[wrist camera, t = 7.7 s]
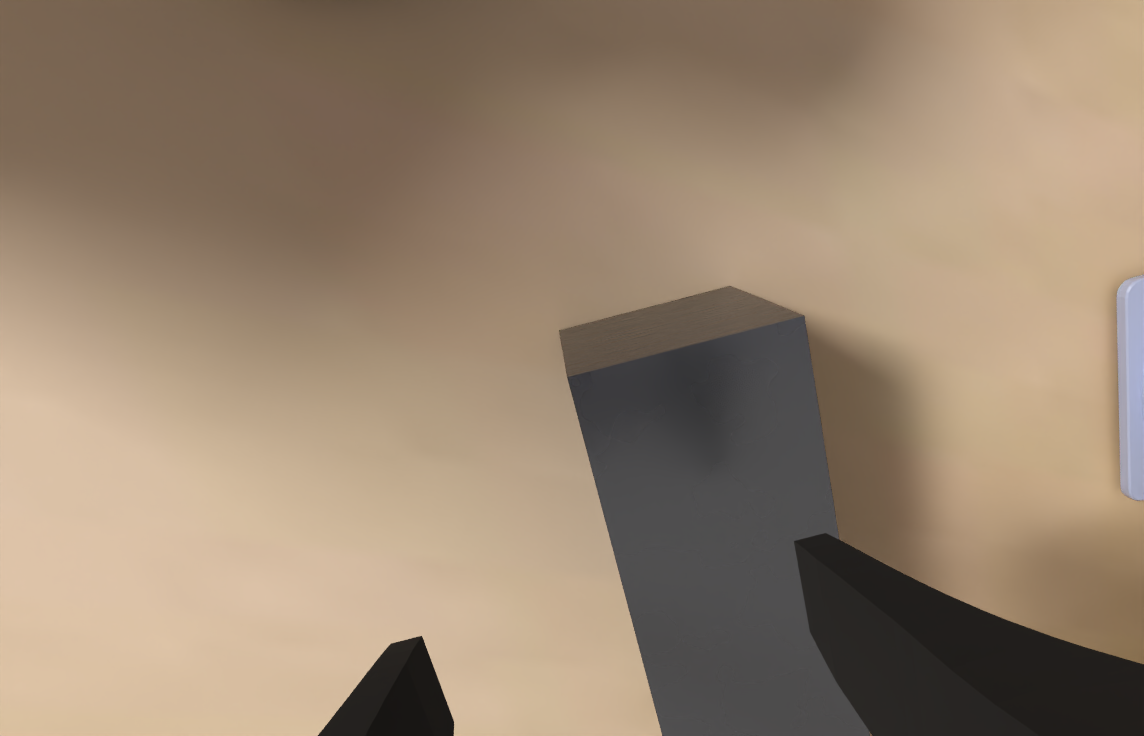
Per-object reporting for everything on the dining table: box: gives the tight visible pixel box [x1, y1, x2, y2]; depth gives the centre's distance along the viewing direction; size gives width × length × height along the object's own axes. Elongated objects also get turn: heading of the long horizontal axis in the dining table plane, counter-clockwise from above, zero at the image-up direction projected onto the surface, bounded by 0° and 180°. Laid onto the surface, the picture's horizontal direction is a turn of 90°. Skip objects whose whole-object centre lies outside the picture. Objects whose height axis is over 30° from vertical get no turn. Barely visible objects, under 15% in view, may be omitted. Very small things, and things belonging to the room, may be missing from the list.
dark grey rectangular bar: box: [559, 286, 870, 736], centre depth 19 cm, size 6×14×6 cm, turn 14°
